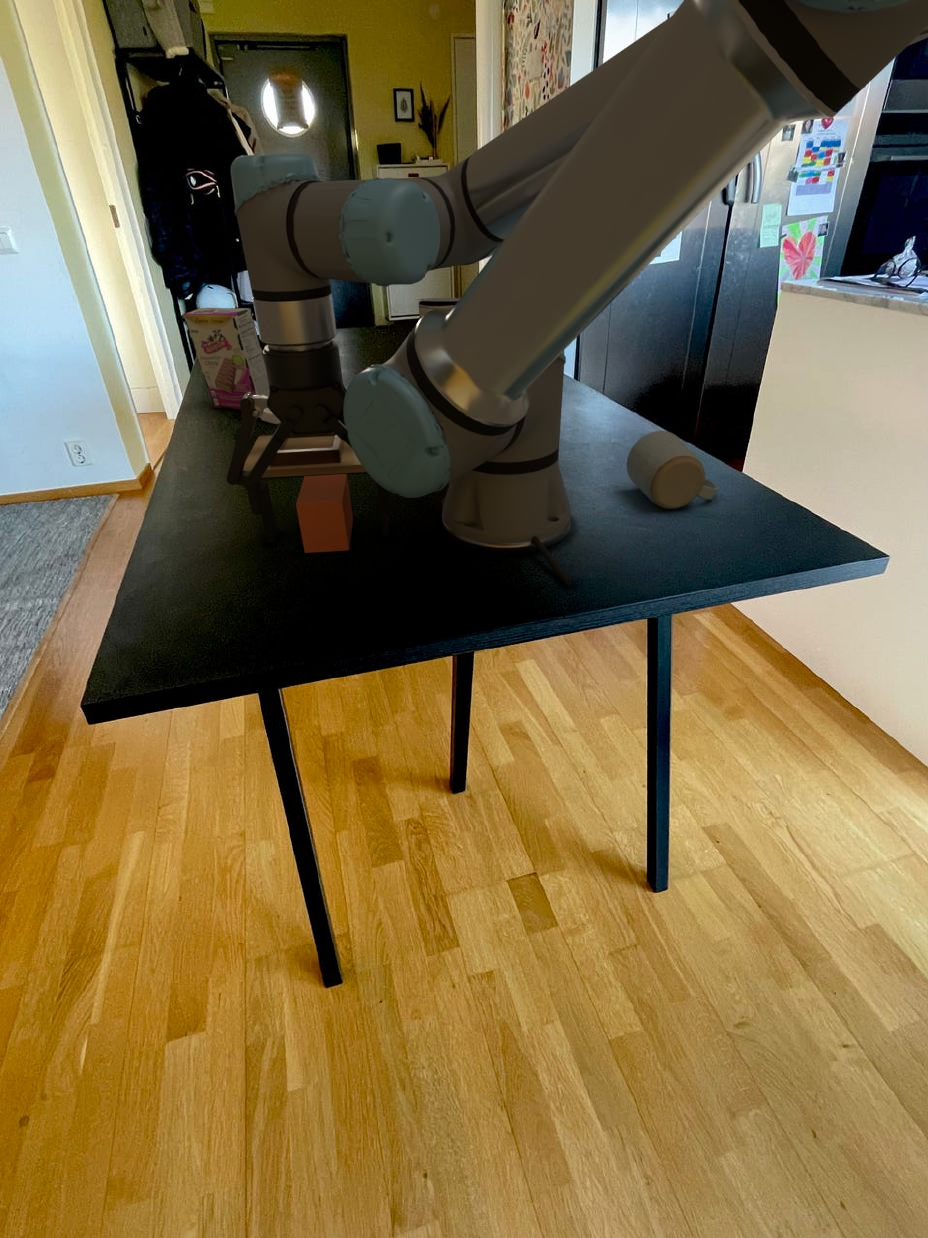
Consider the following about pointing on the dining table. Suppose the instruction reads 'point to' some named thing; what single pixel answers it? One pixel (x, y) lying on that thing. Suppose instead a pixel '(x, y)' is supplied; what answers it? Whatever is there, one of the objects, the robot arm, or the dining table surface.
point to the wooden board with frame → (307, 456)
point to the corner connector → (269, 416)
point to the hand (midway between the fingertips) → (329, 534)
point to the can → (435, 304)
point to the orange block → (325, 513)
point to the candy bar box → (228, 354)
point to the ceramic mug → (668, 471)
